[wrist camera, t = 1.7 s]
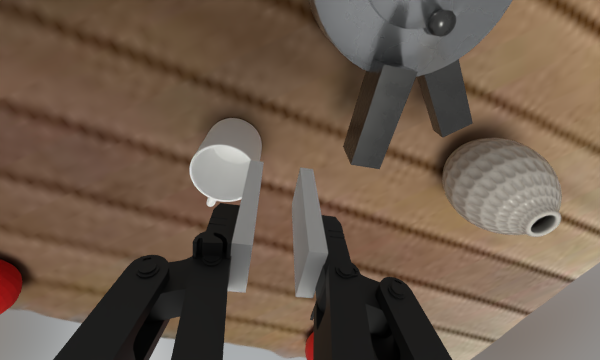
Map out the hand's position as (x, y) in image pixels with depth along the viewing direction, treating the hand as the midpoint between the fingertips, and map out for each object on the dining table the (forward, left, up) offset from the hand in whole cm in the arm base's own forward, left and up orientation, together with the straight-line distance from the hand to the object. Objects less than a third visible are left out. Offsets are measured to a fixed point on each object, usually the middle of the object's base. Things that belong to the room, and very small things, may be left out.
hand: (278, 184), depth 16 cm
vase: (+26, +21, -27) cm, 43 cm away
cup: (+5, -12, -27) cm, 30 cm away
